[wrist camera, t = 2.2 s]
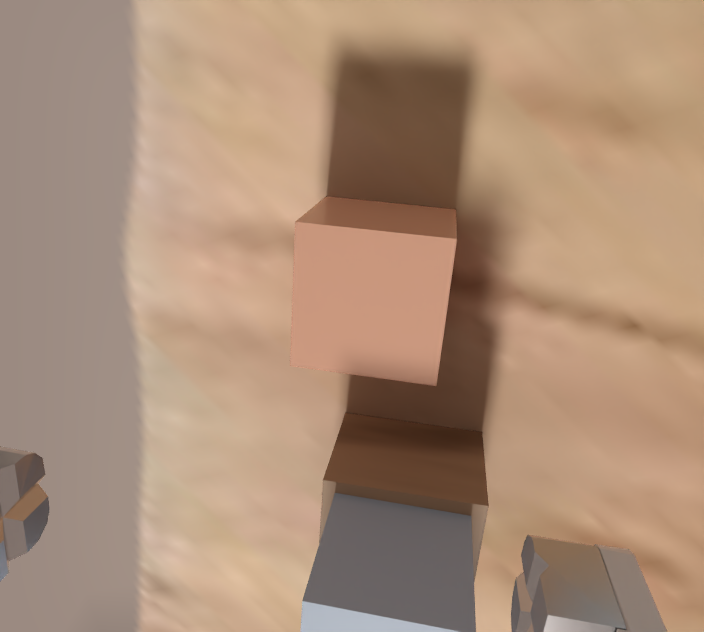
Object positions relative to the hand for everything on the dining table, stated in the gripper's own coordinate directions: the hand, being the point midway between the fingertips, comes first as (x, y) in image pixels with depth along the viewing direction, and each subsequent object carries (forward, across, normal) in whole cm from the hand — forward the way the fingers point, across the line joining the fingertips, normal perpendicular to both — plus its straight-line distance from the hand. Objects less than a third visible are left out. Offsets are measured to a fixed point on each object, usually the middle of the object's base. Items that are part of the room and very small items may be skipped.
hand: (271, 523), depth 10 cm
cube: (+15, 0, 0) cm, 15 cm away
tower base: (+15, -2, +10) cm, 18 cm away
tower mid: (+10, -2, +10) cm, 14 cm away
